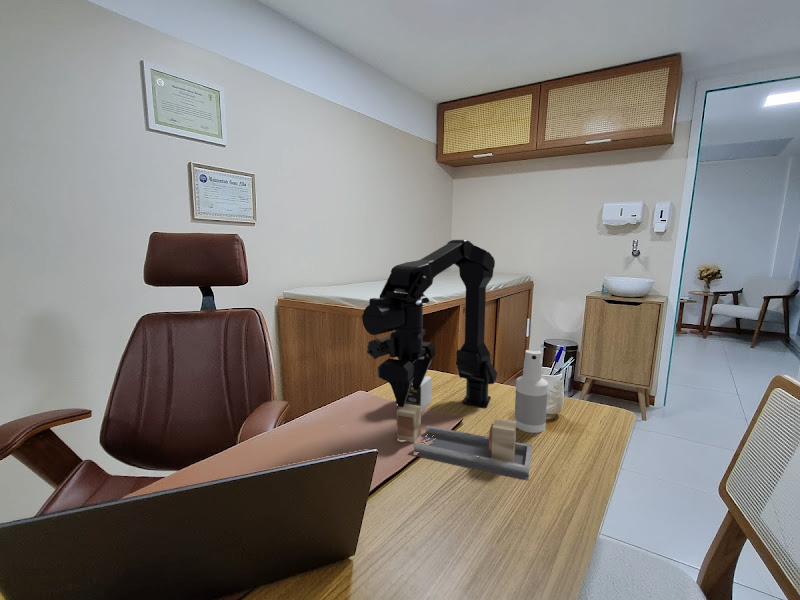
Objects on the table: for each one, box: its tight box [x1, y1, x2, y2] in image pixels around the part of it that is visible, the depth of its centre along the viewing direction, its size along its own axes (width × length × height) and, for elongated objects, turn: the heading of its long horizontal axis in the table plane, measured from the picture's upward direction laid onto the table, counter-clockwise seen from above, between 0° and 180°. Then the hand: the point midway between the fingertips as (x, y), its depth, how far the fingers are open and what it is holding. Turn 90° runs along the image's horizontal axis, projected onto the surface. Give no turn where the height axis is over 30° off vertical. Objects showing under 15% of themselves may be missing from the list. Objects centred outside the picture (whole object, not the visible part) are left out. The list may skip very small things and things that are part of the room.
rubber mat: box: [415, 433, 530, 481], centre depth 76 cm, size 11×22×1 cm, turn 68°
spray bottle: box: [513, 349, 549, 434], centre depth 86 cm, size 7×7×18 cm
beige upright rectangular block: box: [488, 417, 517, 463], centre depth 74 cm, size 4×5×7 cm
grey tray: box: [413, 425, 533, 477], centre depth 76 cm, size 9×22×2 cm, turn 68°
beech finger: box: [396, 404, 422, 443], centre depth 82 cm, size 5×4×7 cm
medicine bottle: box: [395, 373, 433, 410], centre depth 99 cm, size 7×7×12 cm
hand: (408, 397), depth 81 cm, fingers open, 9 cm apart
